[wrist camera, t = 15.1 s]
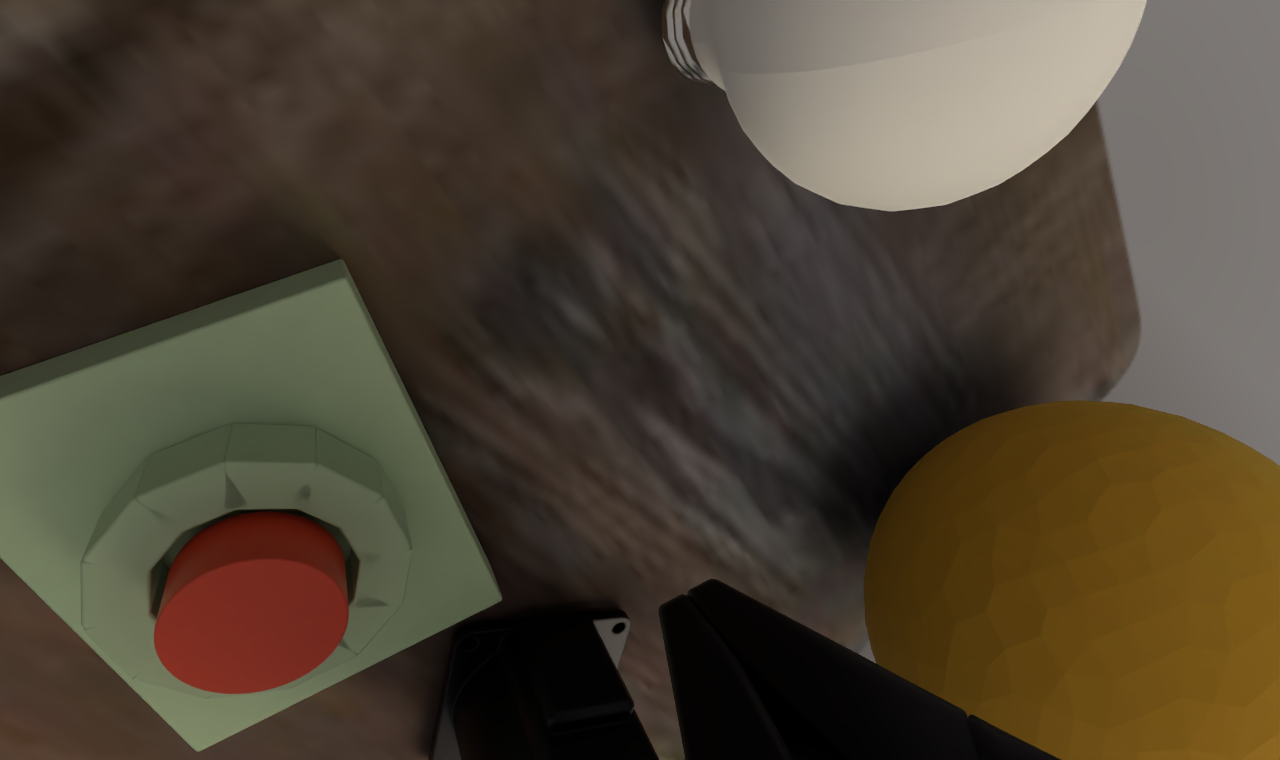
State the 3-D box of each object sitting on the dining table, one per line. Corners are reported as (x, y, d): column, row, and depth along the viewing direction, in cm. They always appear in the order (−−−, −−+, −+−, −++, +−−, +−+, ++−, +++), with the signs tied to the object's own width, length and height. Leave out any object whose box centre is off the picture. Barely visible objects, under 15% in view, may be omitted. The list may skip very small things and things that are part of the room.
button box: (491, 566, 22) (518, 643, 19) (204, 704, 20) (187, 814, 17) (342, 256, 17) (350, 301, 14) (-81, 402, 14) (-176, 491, 12)
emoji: (1025, 354, 34) (984, 629, 37) (787, 380, 25) (761, 732, 28) (1553, 437, 20) (1421, 857, 23) (1414, 547, 12) (1240, 1172, 15)
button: (369, 591, 17) (375, 641, 16) (221, 661, 16) (213, 721, 15) (302, 485, 15) (302, 530, 14) (131, 557, 14) (112, 614, 13)
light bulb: (619, 189, 19) (909, 323, 10) (537, -93, 15) (871, -287, 6) (815, 107, 20) (1225, 158, 11) (781, -168, 17) (1335, -410, 8)
